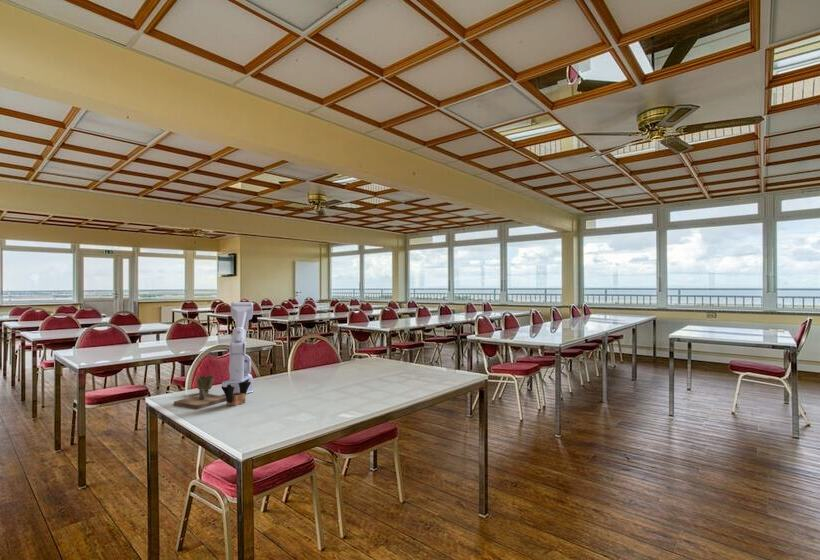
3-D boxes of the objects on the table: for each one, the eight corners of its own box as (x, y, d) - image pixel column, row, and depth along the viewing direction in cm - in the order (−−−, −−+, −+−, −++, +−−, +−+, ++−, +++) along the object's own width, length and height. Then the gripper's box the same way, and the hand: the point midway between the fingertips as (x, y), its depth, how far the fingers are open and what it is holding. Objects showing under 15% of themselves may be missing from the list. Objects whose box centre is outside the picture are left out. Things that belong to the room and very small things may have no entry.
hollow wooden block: (235, 401, 191) (236, 392, 191) (245, 402, 188) (245, 393, 188) (226, 404, 186) (226, 394, 186) (235, 405, 183) (236, 396, 184)
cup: (194, 395, 198) (194, 378, 198) (197, 392, 205) (198, 375, 205) (211, 395, 200) (212, 378, 200) (214, 391, 207) (214, 374, 207)
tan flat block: (205, 396, 197) (205, 383, 197) (227, 400, 192) (228, 387, 192) (173, 404, 182) (174, 390, 183) (197, 409, 177) (197, 394, 177)
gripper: (230, 373, 179) (229, 405, 179) (255, 367, 192) (255, 397, 192) (218, 371, 182) (217, 403, 182) (244, 366, 195) (243, 395, 195)
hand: (236, 400), depth 187 cm, fingers open, 7 cm apart
